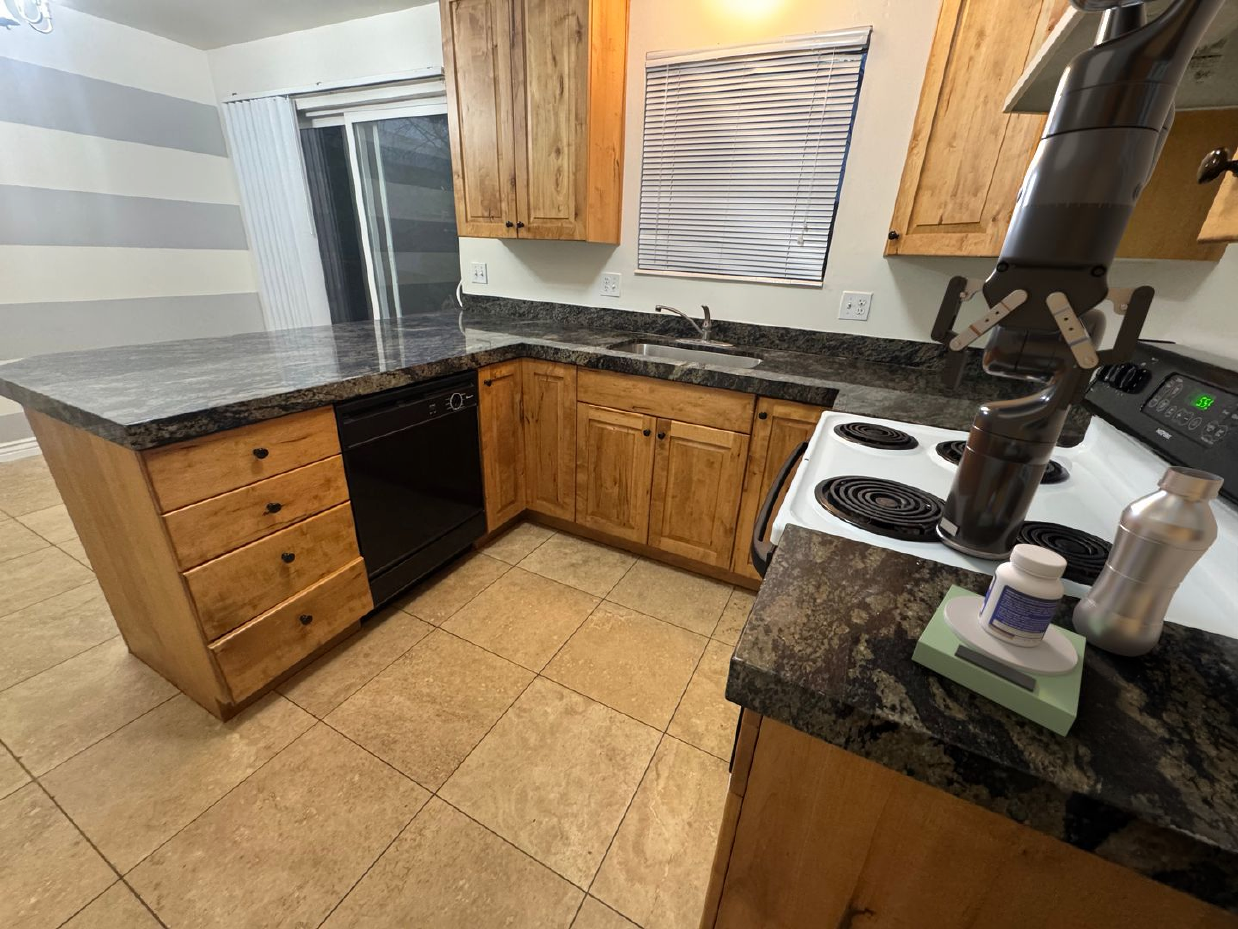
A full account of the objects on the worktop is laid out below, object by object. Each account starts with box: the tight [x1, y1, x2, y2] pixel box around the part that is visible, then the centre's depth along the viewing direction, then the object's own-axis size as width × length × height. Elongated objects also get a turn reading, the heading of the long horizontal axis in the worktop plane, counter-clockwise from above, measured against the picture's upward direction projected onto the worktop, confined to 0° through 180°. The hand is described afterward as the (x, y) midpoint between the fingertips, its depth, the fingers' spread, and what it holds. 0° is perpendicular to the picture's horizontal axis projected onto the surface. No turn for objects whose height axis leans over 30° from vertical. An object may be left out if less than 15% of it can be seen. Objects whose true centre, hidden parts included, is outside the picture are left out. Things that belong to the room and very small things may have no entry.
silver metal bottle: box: [1071, 465, 1225, 657], centre depth 50 cm, size 6×7×20 cm
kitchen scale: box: [911, 584, 1087, 738], centre depth 50 cm, size 14×12×3 cm
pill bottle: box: [978, 543, 1068, 647], centre depth 48 cm, size 5×5×9 cm
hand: (1002, 398), depth 46 cm, fingers open, 8 cm apart
